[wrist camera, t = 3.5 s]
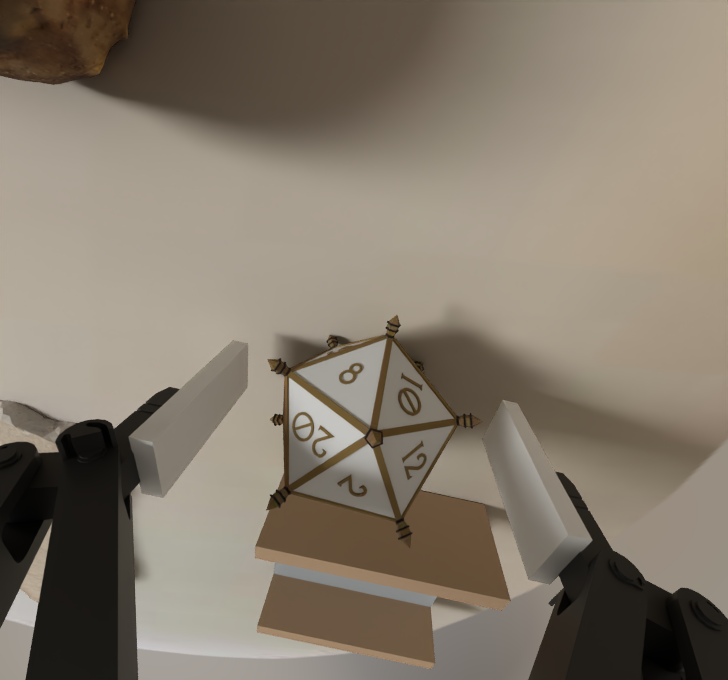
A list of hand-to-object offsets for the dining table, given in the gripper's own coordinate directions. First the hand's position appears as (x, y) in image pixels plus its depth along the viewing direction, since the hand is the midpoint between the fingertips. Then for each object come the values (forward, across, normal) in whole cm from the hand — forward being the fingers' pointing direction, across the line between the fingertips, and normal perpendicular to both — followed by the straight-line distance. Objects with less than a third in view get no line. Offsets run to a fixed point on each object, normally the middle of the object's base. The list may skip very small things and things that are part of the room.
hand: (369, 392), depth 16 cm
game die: (+2, 0, 0) cm, 2 cm away
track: (+2, +3, -16) cm, 16 cm away
